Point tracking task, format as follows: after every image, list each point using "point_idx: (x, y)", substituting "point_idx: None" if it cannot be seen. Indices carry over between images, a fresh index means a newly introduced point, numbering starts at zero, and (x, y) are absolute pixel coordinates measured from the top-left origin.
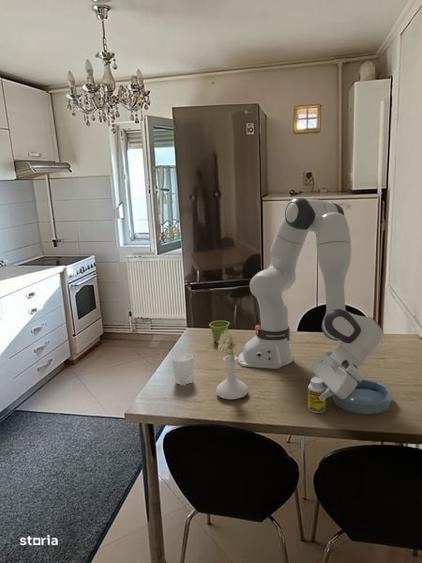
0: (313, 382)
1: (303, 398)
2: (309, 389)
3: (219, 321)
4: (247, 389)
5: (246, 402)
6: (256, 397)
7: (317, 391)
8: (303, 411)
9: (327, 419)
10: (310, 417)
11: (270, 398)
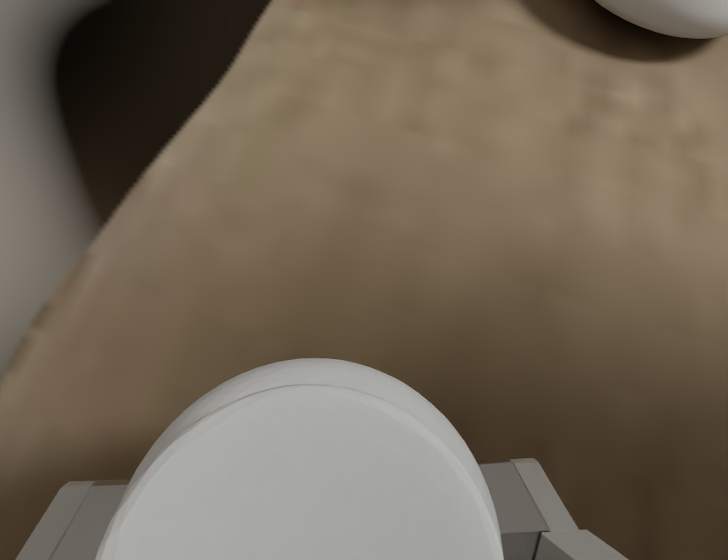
0: (202, 417)
1: (559, 445)
2: (283, 362)
3: None
4: (667, 9)
5: (536, 22)
6: (602, 91)
7: (128, 485)
8: (314, 353)
9: None
10: (190, 377)
11: (580, 171)
